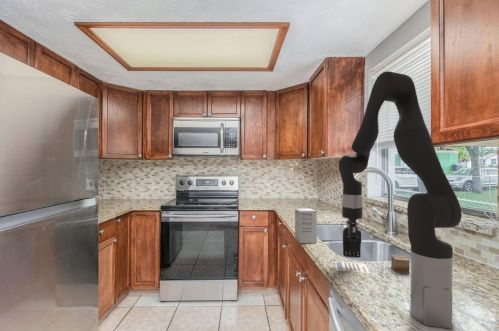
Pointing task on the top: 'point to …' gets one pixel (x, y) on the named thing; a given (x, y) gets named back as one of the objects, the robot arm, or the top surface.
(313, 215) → the supplement box
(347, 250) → the battery
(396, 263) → the walnut block
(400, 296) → the top surface
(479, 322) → the top surface
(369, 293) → the top surface
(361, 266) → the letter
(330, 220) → the top surface
